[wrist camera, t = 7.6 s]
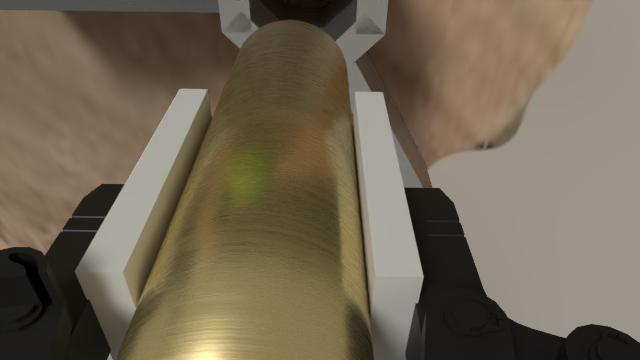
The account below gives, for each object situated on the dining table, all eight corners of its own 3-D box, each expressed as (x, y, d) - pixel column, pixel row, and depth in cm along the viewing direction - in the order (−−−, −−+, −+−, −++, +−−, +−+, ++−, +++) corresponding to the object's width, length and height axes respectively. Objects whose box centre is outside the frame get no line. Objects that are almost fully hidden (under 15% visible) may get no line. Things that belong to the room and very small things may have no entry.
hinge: (94, 165, 40) (51, 228, 34) (-1, -120, 28) (-99, -107, 21) (423, 170, 40) (442, 234, 34) (473, -114, 28) (517, -98, 21)
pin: (230, 133, 18) (-5, 873, 5) (216, 6, 15) (-388, 951, 2) (354, 135, 18) (427, 881, 5) (363, 8, 15) (569, 967, 2)
